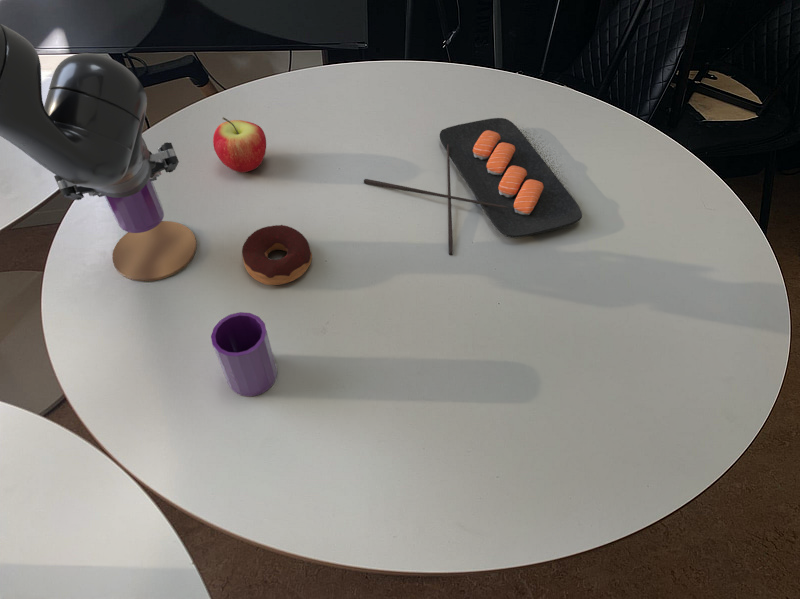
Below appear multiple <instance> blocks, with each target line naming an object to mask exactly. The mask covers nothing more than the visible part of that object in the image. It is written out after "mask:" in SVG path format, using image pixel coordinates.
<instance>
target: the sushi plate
mask: <svg viewBox="0 0 800 599" xmlns="http://www.w3.org/2000/svg"><path fill="white" fill-rule="evenodd" d="M439 140H440V142H441V144H442V146H443V148H444V149H445V151H446V159H447V162H446V163H447V165H446V166H447V168H446V169H447V194H443V193H439V192H433V191H430V190H429V191H428V190H424V189H418V188H414V187H411V186H410V187H409V186H405V185H400V184H394V183H389V182H385V181H379V180H374V179H368V178H364V179H363V184H366V185H370V186H377V187H382V188H386V189H387V188H388V189H392V190H398V191H405V192H412V193H416V194H422V195H429V196H434V197H440V198H446V199H447V224H448V226H447V227H448V228H447V230H448V231H447V232H448V233H447V234H448V235H447V236H448V255H449V256H453V254H454V244H453V242H454V241H453V218H452V215H453V214H452V200H457V201H461V202H466V203H473V204H479V205H480V206H481V208H482V210H483V211H484V212H485V214H486V216H487V217H488V218H489V220H490V222H491V223H492V224H493V226H494V227H495V228H496V230H497V231H498V232H499V233H500V234H502V235H503V236H505V237H508V238H525V237H529V236H534V235H538V234H542V233H547V232H550V231H555V230H558V229H562V228H565V227H568V226H572V225H574V224H576V223H578V222H579V221H580V220H581V219H582V218H583V216H582V215H583V213H582V210H581V207H580V206H579V204H578V203H577V201H576V200H575V199H574V197H573V196H572V194H571V193H570V192H569V191H568V189H567V188H566V187H565V186H564V184H563V183H562V181H561V180H560V179H559V178H558V177H557V176H556V174H555V173H554V172H553V170H552V169H551V168H550V166H548V164H547V163H546V162H545V160H544V159H543V158H542V157H541V155H540V154H539V153H538V151H537V150H536V149H535V147H533V145H532V144H531V142H529V140H528V139H527V137H526V136H525V135H524V134H523V132H522V131H521V130H520V128H518V127H517V126H516V124H515V123H514V122H512V121H511V120H510V119H508V118H504V117H493V118H486V119H480V120H476V121H470V122H465V123H460V124H456V125H452V126H448V127H446V128H443V129H442V130H441V131H440V132H439ZM450 159H451V160H450ZM450 161H452V162H453V164H454V166H455V167H456V169H457V170H458V171H459V174H460V175H461V176H462V178H463V179H464V181H465V183H466V184H467V186H468V187H469V188H470V191H471V192H472V194H473V196H475V198H476V199H475V200H474V199H470V198H464V197H460V196H453V195H452V192H451V169H450V168H451V165H450V164H451V163H450Z"/></svg>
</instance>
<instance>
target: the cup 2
mask: <svg viewBox="0 0 800 599" xmlns="http://www.w3.org/2000/svg"><path fill="white" fill-rule="evenodd" d="M210 339H211V345H212V348H213V349H214V352H215V355H216V358H217V360H218V363H219V365H220V368H221V370H222V373H223V375H224V378H225V380H226V383H227V384H228V386H229V388H230V390H232V391H233V392H234V393H235V394H237V395H240V396H242V397H256V396H260V395H262V394H263V393H265V392H267V391H269V390H270V388H271V387H272V386H273V385H274V384H275V383H276V380H277V377H278V368H277V365H276V364H277V363H276V360H275V357H274V352H273V348H272V345H271V341H270V338H269V334H268V330H267V326H266V323H265V322H264V320H263V319H261V317H260V316H258V315H256V314H253V313H252V312H245V311H244V312H243V311H240V312H235V313H231V314H228V315H227V316H225V317H223V318H221V319H220V320H219V321H218V322H217V323H216V324H215V325H214V327H213V329H212V331H211V335H210Z"/></svg>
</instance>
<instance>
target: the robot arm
mask: <svg viewBox="0 0 800 599" xmlns="http://www.w3.org/2000/svg"><path fill="white" fill-rule="evenodd" d="M41 65H42V64H41V60H40V56H39V54H38V52H37V50H36V48H35V46H34V45H33V44H32V42H30V41H29V39H27V38H25V37H24V36H22V34H20V33H18V32H17V31H15V30H14V29H11V28H10V27H8V26H6V25H4V24H2V23H1V22H0V137H1V138H3V139H4V140H6V141H7V142H8V143H10V144H12V145H13V146H14V147H16V148H18V150H20V151H22V152H23V153H24V154H25V155H27V156H28V157H30V158H31V159H32V160H33V161H35V162H36V163H38V164H39V165H41V167H43V168H44V169H46V170H48V171H49V172H51V173H52V174H54V176H53V177H54V180H55V182H56V185H57V187H58V189H59V191H60V193H61V195H62V196H61V197H64V198H66V199H69V200H73V201H80V200H82V199H84V198H85V196H84V194H88V195H89V197H98V198H101V197H102V198H103V197H105V196H104V195H106V196H109V197H115V198H122V197H128V196H131V195H133V194H135V193H137V192H139V191H140V190H141V189H142V188H143V187H144V186H145V185H146V184H147V182H148V180H150V179H151V180H152V182H154V181H157V180H158V177H160V176H162V171H165V173H169V174H170V173H173V172H174V171H176V168H177V167H178V164H179V163H180V161H179V158H178V156H177V153H176V151H175V149H174V146H173V144H172V142H164V143H163V144H161V146H160V147H158V148H157V152H155V153H152V152H151V151H150V150H149V149H148V146H147V143H146V141H145V140H144V138H143V131H144V127H145V121H146V120H145V119H146V114H147V108H148V97H147V92H146V90H145V88H144V86H143V84H142V82H141V81H140V79H138V77H137V76H136V75H135V74H134V73H133V72H132V71H131V70H130V69H129V68H128V67H126V66H125V65H123V64H122V63H121V62H118V61H117V60H115V59H113V58H111V57H108V56H105V55H102V54H99V53H92V52H91V53H90V52H83V53H76V54H73V55H70V56H67V57H66V58H64V59H63V60H62V61H60V62H59V64H57V66H56V68H55V70H54V72H53V74H52V77H51V79H50V83H49V87H48V89H49V90H48V91H47V95H46V99H45V101H43V90H42V88H43V87H42V66H41Z"/></svg>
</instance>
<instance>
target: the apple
mask: <svg viewBox="0 0 800 599" xmlns="http://www.w3.org/2000/svg"><path fill="white" fill-rule="evenodd" d="M222 120H224V122H222V123H220V124H219V125H218V126H217V127H216V129H215V131H214V133H213V136H212V137H213V138H212V143H213V144H212V145H213V149H214V152H215V154H216V155H217V158H218V160H220V162H221V163H222V164H224V165H225V167H227V168H228V169H230V170H232V171H234V172H236V173H237V172H238V173H247V172H251V171H253V170H255V169H257V168H258V167H259V166H260V165H261V164H262V162H263V160H264V158H265V155H266V152H267V138H266V134H265V132H264V130H263V128H262V127H261V126H259V125H258V124H256V123H254V122H250V121H247V120H242V119H232V120H228V118H226V117H224V116H222Z"/></svg>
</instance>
